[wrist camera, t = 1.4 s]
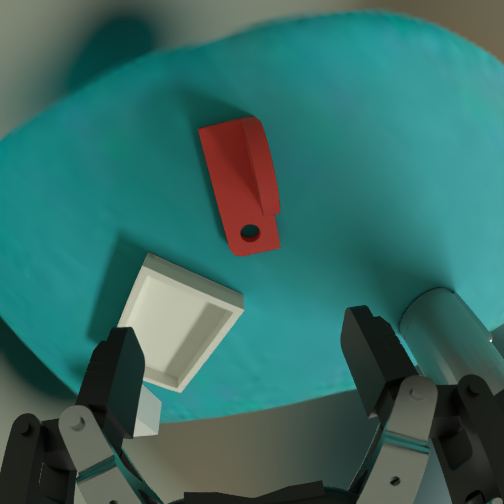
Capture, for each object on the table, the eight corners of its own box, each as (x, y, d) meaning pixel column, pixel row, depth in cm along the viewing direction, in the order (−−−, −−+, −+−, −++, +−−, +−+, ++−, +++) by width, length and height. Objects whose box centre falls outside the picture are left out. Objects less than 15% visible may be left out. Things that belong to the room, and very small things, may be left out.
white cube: (139, 380, 38) (132, 414, 33) (161, 401, 41) (158, 434, 36) (108, 386, 39) (100, 418, 33) (132, 406, 42) (126, 437, 36)
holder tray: (243, 294, 31) (244, 309, 29) (181, 378, 38) (180, 392, 36) (148, 251, 28) (142, 265, 26) (108, 350, 34) (103, 364, 32)
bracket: (199, 128, 23) (187, 142, 16) (253, 115, 23) (265, 124, 16) (232, 252, 29) (234, 305, 22) (278, 242, 29) (295, 292, 22)
